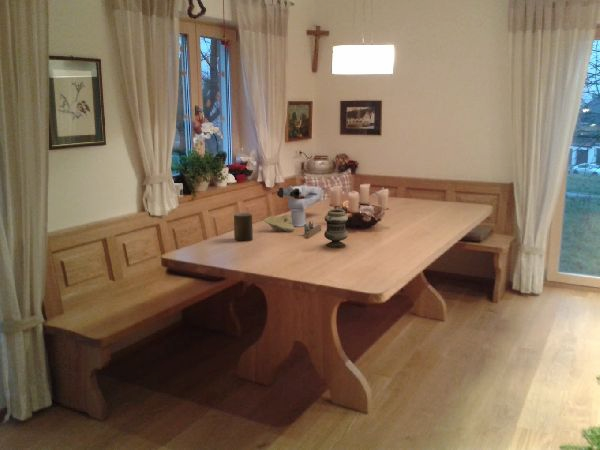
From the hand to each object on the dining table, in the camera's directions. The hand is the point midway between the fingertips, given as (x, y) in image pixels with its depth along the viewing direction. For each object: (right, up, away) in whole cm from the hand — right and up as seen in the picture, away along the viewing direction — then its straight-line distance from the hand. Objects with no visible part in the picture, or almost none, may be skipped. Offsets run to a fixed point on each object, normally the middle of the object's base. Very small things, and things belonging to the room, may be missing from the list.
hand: (284, 193), depth 315 cm
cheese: (-3, -21, +7) cm, 22 cm away
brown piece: (+15, -22, 0) cm, 27 cm away
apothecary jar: (+27, -28, -25) cm, 46 cm away
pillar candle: (-21, -25, -11) cm, 35 cm away
